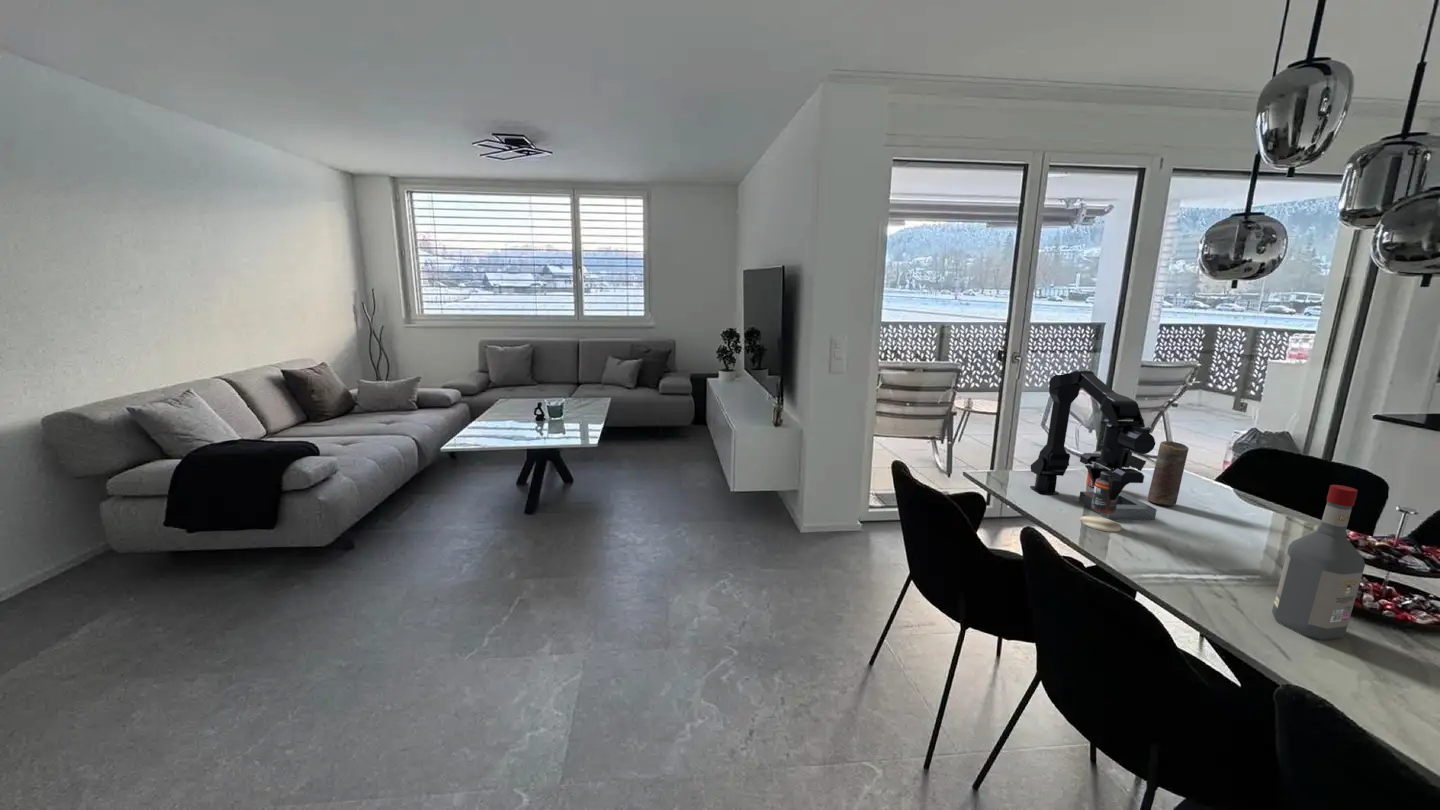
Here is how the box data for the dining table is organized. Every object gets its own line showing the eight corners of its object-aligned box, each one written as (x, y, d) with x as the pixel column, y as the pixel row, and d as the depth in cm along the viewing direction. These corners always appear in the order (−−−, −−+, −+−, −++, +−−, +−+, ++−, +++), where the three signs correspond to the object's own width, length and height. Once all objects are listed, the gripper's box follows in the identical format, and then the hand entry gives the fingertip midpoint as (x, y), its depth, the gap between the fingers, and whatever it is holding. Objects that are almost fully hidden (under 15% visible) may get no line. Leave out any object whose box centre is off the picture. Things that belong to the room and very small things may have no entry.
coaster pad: (1072, 517, 170) (1073, 515, 170) (1105, 518, 170) (1106, 516, 170) (1094, 531, 160) (1094, 529, 160) (1129, 532, 161) (1130, 530, 160)
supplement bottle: (1116, 510, 165) (1124, 473, 162) (1113, 516, 161) (1120, 478, 158) (1092, 504, 169) (1099, 468, 166) (1088, 510, 165) (1095, 473, 162)
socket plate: (1078, 501, 183) (1080, 491, 182) (1121, 502, 183) (1123, 492, 183) (1108, 519, 169) (1110, 508, 169) (1154, 520, 170) (1156, 509, 169)
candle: (1175, 503, 185) (1187, 443, 180) (1178, 510, 179) (1190, 448, 174) (1146, 497, 189) (1157, 439, 184) (1147, 504, 183) (1159, 444, 178)
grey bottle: (1350, 638, 113) (1392, 495, 107) (1316, 642, 111) (1356, 497, 105) (1296, 612, 122) (1332, 479, 116) (1263, 616, 120) (1298, 481, 114)
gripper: (1169, 454, 151) (1157, 509, 155) (1120, 435, 170) (1110, 485, 173) (1127, 453, 151) (1117, 508, 155) (1083, 434, 169) (1074, 484, 173)
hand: (1105, 495), depth 164 cm, fingers closed on supplement bottle, 6 cm apart
